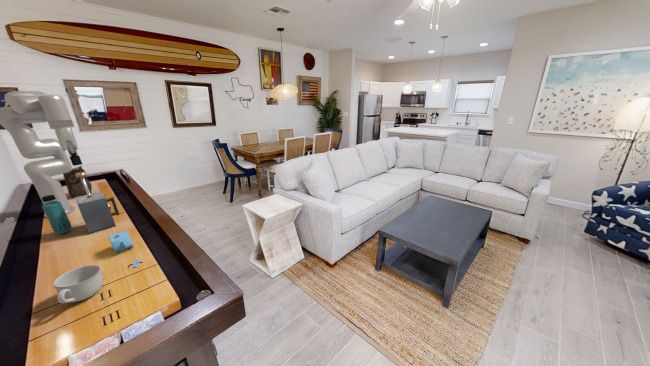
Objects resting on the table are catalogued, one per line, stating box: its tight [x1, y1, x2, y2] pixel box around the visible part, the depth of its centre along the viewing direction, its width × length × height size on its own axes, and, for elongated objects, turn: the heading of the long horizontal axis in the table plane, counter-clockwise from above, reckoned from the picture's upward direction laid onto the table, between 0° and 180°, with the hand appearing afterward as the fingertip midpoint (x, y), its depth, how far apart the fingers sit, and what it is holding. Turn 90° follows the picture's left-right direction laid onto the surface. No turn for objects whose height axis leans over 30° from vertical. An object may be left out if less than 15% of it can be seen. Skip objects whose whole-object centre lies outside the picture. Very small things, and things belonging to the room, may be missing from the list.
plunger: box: [75, 171, 92, 198], centre depth 115 cm, size 8×8×18 cm
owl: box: [62, 165, 93, 199], centre depth 162 cm, size 13×13×20 cm
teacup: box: [53, 264, 104, 304], centre depth 76 cm, size 14×11×8 cm
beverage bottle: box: [41, 195, 73, 235], centre depth 114 cm, size 6×7×20 cm
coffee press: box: [74, 191, 120, 235], centre depth 120 cm, size 10×13×17 cm
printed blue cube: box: [108, 230, 134, 255], centre depth 101 cm, size 12×6×8 cm, turn 48°
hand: (77, 164), depth 111 cm, fingers closed
